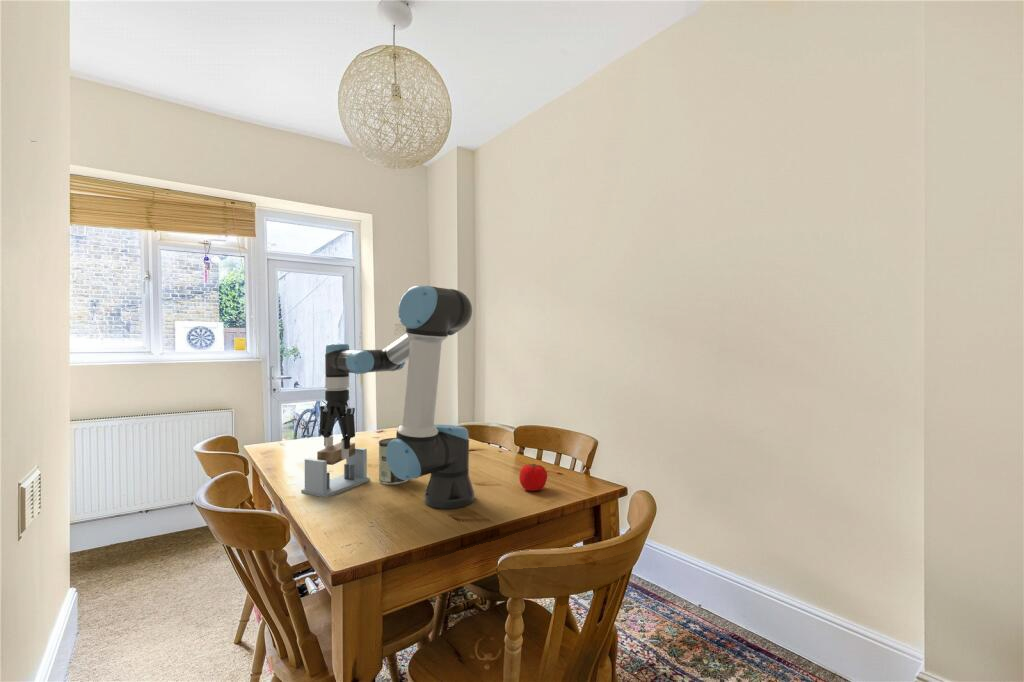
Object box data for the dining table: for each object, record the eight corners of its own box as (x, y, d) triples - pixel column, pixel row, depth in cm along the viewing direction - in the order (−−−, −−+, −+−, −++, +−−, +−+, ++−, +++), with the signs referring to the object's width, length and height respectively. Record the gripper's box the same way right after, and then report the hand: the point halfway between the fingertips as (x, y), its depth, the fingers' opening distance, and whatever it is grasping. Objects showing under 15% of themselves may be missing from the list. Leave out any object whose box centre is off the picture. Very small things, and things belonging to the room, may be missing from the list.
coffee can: (411, 476, 168) (411, 437, 168) (404, 485, 158) (404, 443, 158) (383, 476, 168) (383, 437, 168) (374, 484, 158) (374, 443, 158)
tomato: (532, 496, 147) (532, 469, 147) (512, 488, 155) (512, 463, 155) (553, 490, 153) (553, 464, 153) (532, 482, 161) (532, 458, 161)
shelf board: (355, 454, 163) (355, 442, 163) (332, 464, 149) (332, 452, 149) (340, 453, 164) (340, 442, 164) (317, 464, 150) (317, 451, 150)
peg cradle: (370, 480, 163) (370, 449, 163) (326, 497, 145) (326, 462, 145) (346, 476, 168) (346, 446, 167) (301, 492, 150) (301, 458, 150)
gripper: (367, 389, 156) (366, 458, 156) (324, 386, 164) (324, 451, 164) (350, 391, 149) (350, 463, 149) (307, 388, 157) (307, 456, 157)
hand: (336, 457), depth 156 cm, fingers closed on shelf board, 6 cm apart
